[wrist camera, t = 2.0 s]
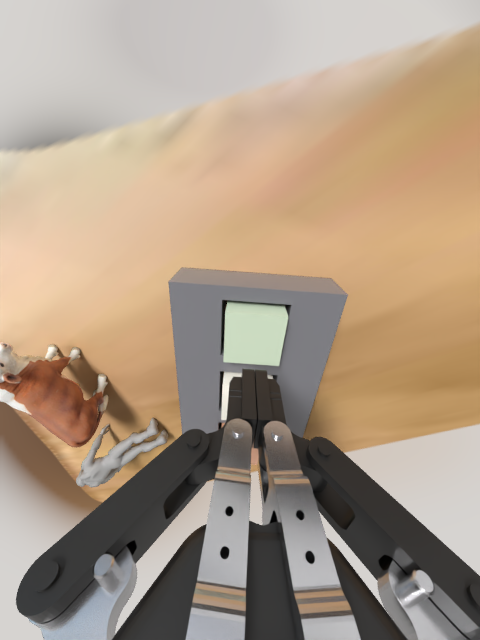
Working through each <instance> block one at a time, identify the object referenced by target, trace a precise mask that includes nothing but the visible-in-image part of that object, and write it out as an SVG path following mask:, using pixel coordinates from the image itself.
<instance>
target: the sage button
mask: <svg viewBox="0 0 480 640" xmlns="http://www.w3.org/2000/svg"><path fill="white" fill-rule="evenodd" d="M287 322H288V314H287V311H286V308H285V305H284V304H273V303H259V302H246V301H232V300H228V301H227V306H226V311H225V333H224V359H223V362H229V363H243V364H256V365H270V366H279V364H280V358H281V353H282V348H283V343H284V337H285V332H286V327H287Z"/></svg>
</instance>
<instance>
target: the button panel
mask: <svg viewBox="0 0 480 640" xmlns="http://www.w3.org/2000/svg"><path fill="white" fill-rule="evenodd" d="M169 292H170V303H171V314H172V325H173V336H174V347H175V358H176V369H177V380H178V391H179V402H180V413H181V424H182V434H184V433H185V432H186V431H188V430H191V429H200V430H202V431H204V432H205V433H206V434H208V433H211V432H215V431H217V430H219V429H221V428H222V424H221V423H226V420H221V411H222V385H223V384H222V382H223V371H224V372H238V373H242V368H243V369H254V370H255V369H258V370H267V375H273V379H275V380H276V382H277V383H278V384H279V386H280V392H281V397H282V403H283V408H284V414H285V419H286V424H287V426H288V428H289V429H290V430H291V431H292V432H293V433H294V434H295V435H297V436H299V437H301V438H303V434H304V431H305V428H306V425H307V422H308V419H309V416H310V412H311V409H312V406H313V403H314V400H315V397H316V393H317V390H318V387H319V384H320V381H321V378H322V375H323V371H324V368H325V365H326V362H327V359H328V356H329V353H330V349H331V346H332V343H333V340H334V337H335V334H336V331H337V327H338V324H339V321H340V318H341V315H342V312H343V309H344V305H345V302H346V299H347V296H348V294H347V293H346V292H345V291H343V290H342V289H341V288H340V287H339V286H338V285H337V284H336V283H335V282H334V281H333V280H332V279H331V278H318V277H304V276H291V275H277V274H264V273H250V272H236V271H223V270H209V269H196V268H181V269H180V270H179V271H178V272H177V273H176V274H175V275H174V276H173V277H172V279H171V280H170V281H169ZM226 300H232V301H246V302H259V303H273V304H284V305H285V308H286V311H287V314H288V322H287V327H286V332H285V337H284V343H283V348H282V353H281V358H280V364H279V366H270V365H256V364H243V363H229V362H223V359H224V330H225V303H226Z"/></svg>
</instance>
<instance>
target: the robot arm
mask: <svg viewBox="0 0 480 640" xmlns="http://www.w3.org/2000/svg"><path fill="white" fill-rule="evenodd" d="M252 447H253V448H257V449H258V455H259V457H258V473H259V480H260V489H261V498H262V507H263V508H262V509H263V512H262V522H263V525H259V524H256V523H254V522H251V521H249V510H250V490H251V475H250V469H251V449H252ZM212 479H215V480H214V486H213V492H212V497H211V503H210V509H209V514H208V520H207V524H206V525H204V526H201V527H200V528H198V529H197V530H195V531H194V532H193V533H192V534H191V535H190V536H189V537H188V538H187V539H186V540H185V541H184V542H183V544H182V545H181V546H180V548H179V549H178V550H177V552H176V553H175V554H174V556H173V557H172V558H171V560H170V561H169V562H168V564H167V565H166V567H165V568H164V569H163V571H162V572H161V573H160V575H159V576H158V578H157V579H156V580H155V581H154V583H153V584H152V586H151V587H150V588H149V590H148V591H147V592H146V594H145V595H144V596H143V598H142V599H141V600H140V602H139V603H138V605H137V606H136V607H135V609H134V610H133V611H132V613H131V614H130V616H129V617H128V618H127V620H126V621H125V623H124V624H123V625H122V626H121V628H120V629H119V630H118V632H117V633H116V635H115V628H116V624H117V621H118V618H119V616H120V613H121V611H122V609H123V607H124V606H125V605H126V603H127V601H128V600H129V598H130V597H131V595H132V593H133V590H134V588H135V584H136V579H137V568H136V562H137V561H138V560H139V559H140V558H141V557H142V556H143V554H144V553H145V552H146V551H147V550H148V549H149V548H150V546H151V545H152V544H153V543H154V542H155V541H156V540H157V538H158V537H159V536H160V535H161V534H162V533H163V532H164V530H165V529H166V528H167V527H168V526H169V525H170V524H171V522H172V521H173V520H174V519H175V518H176V517H177V516H178V514H179V513H180V512H181V511H182V510H183V509H184V508H185V506H186V505H187V504H188V503H189V502H190V501H191V499H192V498H193V497H194V496H195V495H196V494H197V493H198V491H199V490H200V489H201V488H202V487H203V486H204V485H205V483H206V482H207V481H209V480H212ZM318 510H319V511H318ZM319 512H320V513H321V514H322V515H323V516H324V518H325V519H326V520H327V521H328V522H329V524H330V525H331V526H332V527H333V528H334V530H335V531H336V532H337V533H338V534H339V535H340V537H341V538H342V539H343V540H344V541H345V543H346V544H347V545H348V546H349V547H350V548H351V550H352V551H353V552H354V553H355V555H356V556H357V557H358V558H359V559H360V561H361V562H362V563H363V564H364V565H365V566H366V568H367V569H368V570H369V571H370V572H371V574H372V575H373V576H374V577H375V578H376V580H377V581H378V590H379V595H380V598H381V600H382V603H383V605H384V608H385V609H386V610H385V609H384V608H383V607H382V605H381V604H380V603H379V601H378V600H377V599H376V598H375V596H374V595H373V593H372V592H371V591H370V590H369V588H368V587H367V586H366V584H365V583H364V582H363V580H362V579H361V578H360V577H359V575H358V574H357V573H356V572H355V570H354V569H353V567H352V566H351V565H350V563H349V562H348V561H347V560H346V558H345V557H344V556H343V554H342V553H341V552H340V551H339V549H338V548H337V547H336V546H335V545H334V544H333V543H332V542H331V541H330V540H329V539H328V538H327V537H326V535H325V531H324V528H323V524H322V521H321V518H320V514H319ZM16 604H17V608H18V610H19V612H20V613H21V614H22V615H24V616H26V617H27V618H28V619H29V621H30V622H32V623H33V624H34V625H36V626H38V627H39V628H41V631H42V635H43V638H44V640H480V576H479V575H478V574H477V573H476V572H474V570H473V569H471V568H470V567H469V566H468V565H467V564H466V563H465V562H464V561H462V560H461V559H460V558H459V557H458V556H457V555H456V554H455V553H454V552H453V551H451V550H450V549H449V548H448V547H447V546H446V545H445V544H444V543H443V542H441V541H440V540H439V539H438V538H437V537H436V536H435V535H434V534H433V533H432V532H430V531H429V530H428V529H427V528H426V527H425V526H424V525H423V524H422V523H421V522H419V521H418V520H417V519H416V518H415V517H414V516H413V515H412V514H410V513H409V512H408V511H407V510H406V509H405V508H404V507H403V506H402V505H401V504H399V503H398V502H397V501H396V500H395V499H394V498H393V497H392V496H390V494H388V493H387V492H386V491H385V490H384V489H383V488H382V487H381V486H379V485H378V484H377V483H376V482H375V481H374V480H373V479H371V477H370V476H368V475H367V474H366V473H365V472H364V471H363V470H362V469H361V468H360V467H359V466H357V465H356V464H355V463H354V462H353V461H352V460H351V459H350V458H348V457H347V456H346V455H345V454H344V453H343V452H342V451H341V450H340V449H339V448H338V447H336V446H335V445H334V444H333V443H332V442H331V441H329V440H328V439H326V438H323V437H315V438H313V439H311V441H309V440H307V439H304V438H301V437H299V436H297V435H295V434H294V433H293V432H292V431H291V430H290V429H289V428H288V426H287V424H286V419H285V414H284V408H283V403H282V397H281V392H280V386H279V384H278V383H277V382H276V380H275V379H268V376H267V370H258V369H255V370H254V369H243V368H242V377H234V376H233V378H232V380H231V381H230V383H229V396H228V408H227V419H226V423H225V424H224V426H223V427H222V428H221V429H219V430H217V431H215V432H211V433H208V434H206V433H205V432H204V431H202V430H200V429H191V430H188V431H186V432H185V433H184V434H182V435H181V436H180V437H179V438H178V439H177V440H175V441H174V442H173V443H172V444H171V445H170V446H168V447H167V448H166V449H165V450H164V451H163V452H161V453H160V454H159V455H158V456H157V457H156V458H154V459H153V460H152V461H151V462H150V463H149V464H147V465H146V466H145V467H144V468H143V469H142V470H140V471H139V472H138V473H137V474H136V475H135V476H133V477H132V478H131V479H130V480H129V481H128V482H126V483H125V484H124V485H123V486H122V487H121V488H119V489H118V490H117V491H116V492H115V493H114V494H112V495H111V496H110V497H109V498H108V499H107V500H105V501H104V502H103V503H102V504H101V505H100V506H99V507H97V508H96V509H95V510H94V511H93V512H92V513H90V514H89V515H88V516H87V517H86V518H84V519H83V520H82V521H81V522H80V523H79V524H77V525H76V526H75V527H74V528H73V529H72V530H71V531H69V532H68V533H67V534H66V535H65V536H63V537H62V538H61V539H60V540H59V541H58V542H57V543H55V544H54V545H53V546H52V547H51V548H50V549H48V550H47V551H46V552H45V553H44V554H42V555H41V556H40V557H39V558H38V559H37V560H36V561H35V562H34V563H33V564H32V566H31V567H30V568H29V569H28V571H27V573H26V574H25V575H24V577H23V579H22V581H21V583H20V586H19V589H18V592H17V597H16ZM386 611H387V612H388V613H389V614H388V613H387V612H386ZM389 615H390V616H391V617H390V616H389ZM392 619H393V620H392ZM114 635H115V636H114Z"/></svg>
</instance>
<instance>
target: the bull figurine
mask: <svg viewBox="0 0 480 640" xmlns="http://www.w3.org/2000/svg"><path fill="white" fill-rule="evenodd" d="M12 350H13V347H12V346H11V345H10V344H8V343H2V342H0V401H2V402H5V403H7V404H8V405H10V406H11V407H13V408H15V409H18V410H20V411H23V412H25V413H27V414H28V415H30V416H31V417H33V418H34V419H36V420H37V421H38V422H40V423H41V424H42V425H43V426H45V427H46V428H47V429H48V430H49V431H50V432H51V433H53V434H54V435H56V436H57V437H58V438H60V439H61V440H63V441H64V442H66V443H67V444H68V445H69V446H71V447H80V446H83V445H84V444H86V443H87V442H88V441H89V440H90V439H91V438H92V436H93V435H94V433H95V431H96V429H97V427H98V425H99V422H100V419H101V417H102V415H103V413H104V411H105V410H106V407H107V403H108V395H105V396H104V397H103V391H104V388H105V386H106V385H107V384H108V382H106V378H107V377H106V375H104V374H99V375H98V388H97V390H95V391H94V392H93V397H92V398H90V399H89V400H87V401H86V400H84V398H83V393H82V390H81V388H80V387H79V386H80V385H79V384H78V383H75V382H73V381H71V380H70V379H68V378H66V377H65V376H64V375H62V374H61V372H62V370H63V369H64V368H65V367H66V366H67V365H68V364H69V363H70V362H71V361H72V360H75V359H78V358H80V357H81V356H80V355H79V354H80V352H81V351H80V349H79V348H77V347H73V348H72V350H71V352H70V355H69V356H68V357H63V358H60V359H59V360H55V361H52V358H53V357H54V356H56V355H58V354H59V353H58V352H57V350H58V347H57V346H56V345H53V344H50V345H49V346H48V353H47V355H46V357H45V358H44V357H41V356H36V357H35V356H30V355H24V356H20V357H19V356H18V355H17V354H16V353H15V352H12ZM98 405H99V406H98ZM97 408H98V410H97ZM98 412H99V414H98Z"/></svg>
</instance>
